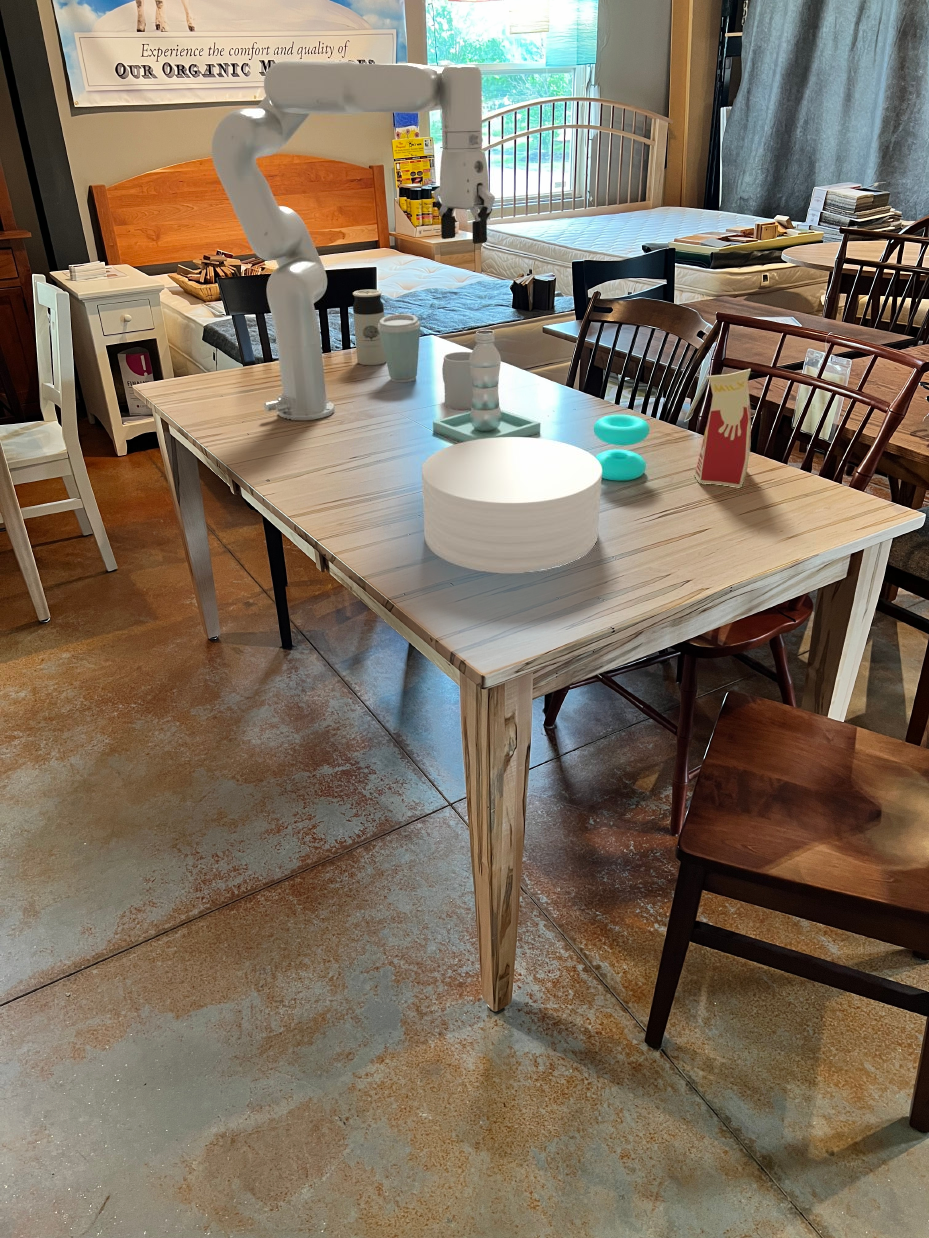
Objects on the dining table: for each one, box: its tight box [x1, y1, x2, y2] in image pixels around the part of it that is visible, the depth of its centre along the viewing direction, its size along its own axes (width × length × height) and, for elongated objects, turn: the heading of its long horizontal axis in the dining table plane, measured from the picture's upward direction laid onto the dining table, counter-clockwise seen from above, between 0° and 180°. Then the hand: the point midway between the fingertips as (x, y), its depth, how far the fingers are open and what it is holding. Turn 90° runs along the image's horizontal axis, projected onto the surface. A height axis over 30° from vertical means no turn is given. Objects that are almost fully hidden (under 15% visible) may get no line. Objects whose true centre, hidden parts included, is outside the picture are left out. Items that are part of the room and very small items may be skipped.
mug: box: [441, 351, 473, 411], centre depth 198 cm, size 12×8×11 cm
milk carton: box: [694, 368, 752, 488], centre depth 154 cm, size 9×9×20 cm
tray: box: [432, 408, 541, 443], centre depth 182 cm, size 16×16×2 cm
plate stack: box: [421, 437, 603, 574], centre depth 138 cm, size 28×28×12 cm
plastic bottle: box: [469, 329, 502, 431], centre depth 177 cm, size 6×7×20 cm
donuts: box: [593, 414, 650, 482], centre depth 159 cm, size 10×10×10 cm
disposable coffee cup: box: [377, 313, 422, 383], centre depth 215 cm, size 11×11×15 cm
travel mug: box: [352, 289, 387, 366], centre depth 229 cm, size 8×8×18 cm
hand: (463, 240), depth 172 cm, fingers open, 9 cm apart
